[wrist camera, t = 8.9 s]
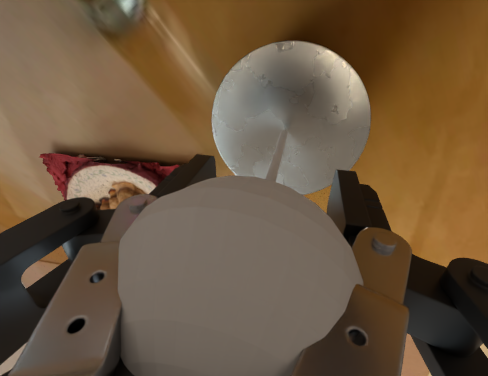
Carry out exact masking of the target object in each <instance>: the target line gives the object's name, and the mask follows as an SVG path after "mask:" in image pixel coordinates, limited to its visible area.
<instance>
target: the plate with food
mask: <svg viewBox="0 0 488 376" xmlns="http://www.w3.org/2000/svg"><path fill="white" fill-rule="evenodd" d="M40 158H43V164H45V165H46V166H47V167H48V168H47V171H48V172H49V173H50V174H51V175H52V176H53V179H54V180H55V185H58V189H57V190H58V191H61V193H62V194H63V195H62V196H63V197H64V200H68V199H72V198H77V197H87V198H91V199H92V200H93V201H94V203H95V205H96V208H97V210H104V209H116V208H117V206H118V205H119V204H120V202H122V201H123V200H125V199H127V198H129V197H131V196H135V195H139V194H149V193H150V192H151V191H152V190H153V189H154V188H155V187H157V186H158V185H159V184H160V183H161V182H162V181H163V180H164V179H165V178H166V177H167V176H168V175H169V174H170V173H171V172H172V171H173V170H174V169H175V168H177V167H179V165H175V166H171V167H162V166H160V165H159V163H158V162H157V163H155V162H152V163H151V162H150V163H146V162H145V163H144V162H143V163H141V162H135V161H121V160H120V159H118V160H116V159H114V161H118V162H124V163H127V164H108V163H100V159H102V160H103V159H104V158H103V157H101V158H100V156H99V157H85V155H84V154H83V155H80V154H79V156H77V157H76V156H75V157H71V156H69V155H65V154H54V153H53V154H52V153H49V154H46V153H45V154H41V155H40ZM98 158H99V159H98ZM105 161H107V160H106V159H105Z"/></svg>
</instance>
